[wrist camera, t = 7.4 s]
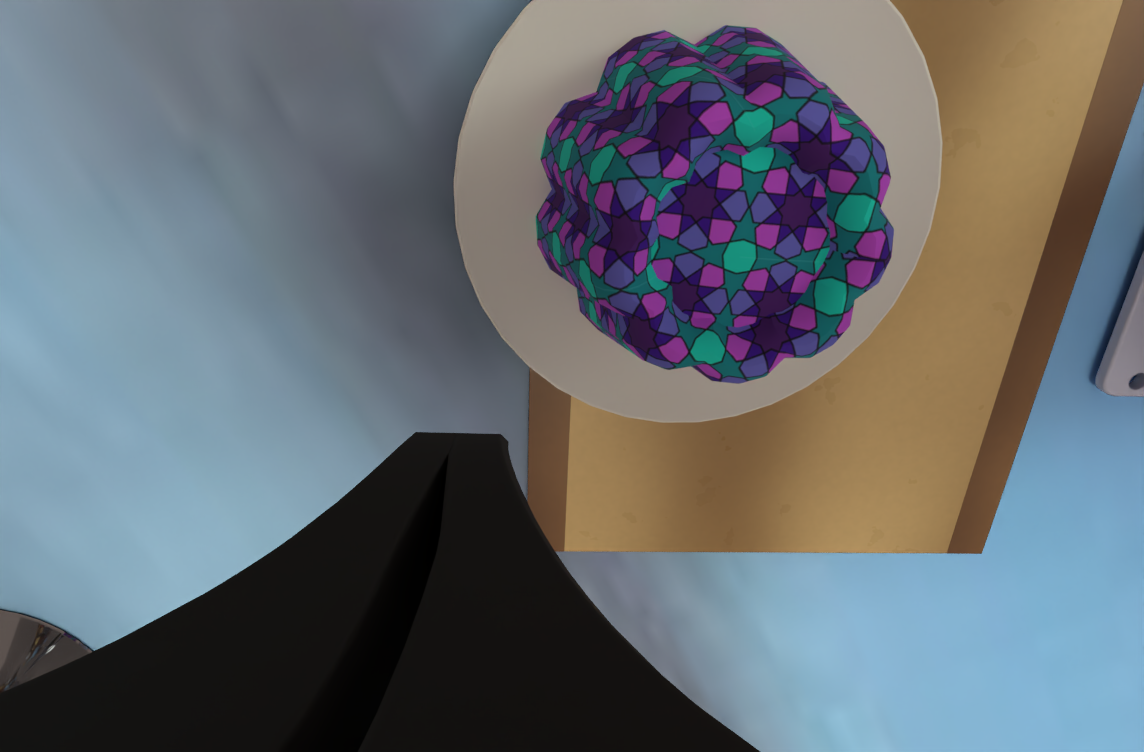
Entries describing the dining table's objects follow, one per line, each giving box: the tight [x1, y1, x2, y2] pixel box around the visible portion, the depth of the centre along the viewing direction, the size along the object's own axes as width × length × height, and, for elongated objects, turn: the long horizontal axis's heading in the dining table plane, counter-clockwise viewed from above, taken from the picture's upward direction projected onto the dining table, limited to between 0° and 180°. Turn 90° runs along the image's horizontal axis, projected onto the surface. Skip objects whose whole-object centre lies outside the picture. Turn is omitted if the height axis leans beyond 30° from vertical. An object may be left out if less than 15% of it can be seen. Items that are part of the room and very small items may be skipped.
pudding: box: [453, 0, 943, 423], centre depth 15 cm, size 12×12×5 cm
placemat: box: [528, 0, 1144, 554], centre depth 18 cm, size 15×22×1 cm
